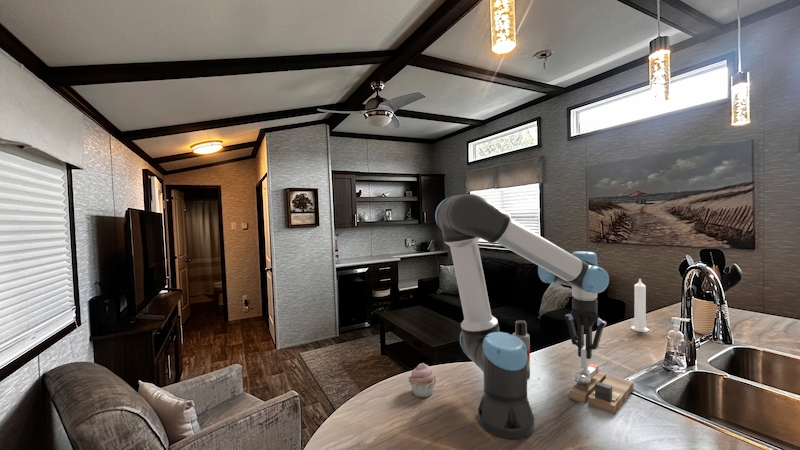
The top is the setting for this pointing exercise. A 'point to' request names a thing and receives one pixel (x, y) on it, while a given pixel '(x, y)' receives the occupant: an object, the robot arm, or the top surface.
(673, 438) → the top surface
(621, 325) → the top surface
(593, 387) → the door boards
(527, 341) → the lotion bottle
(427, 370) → the cupcake
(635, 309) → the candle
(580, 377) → the latch arm
